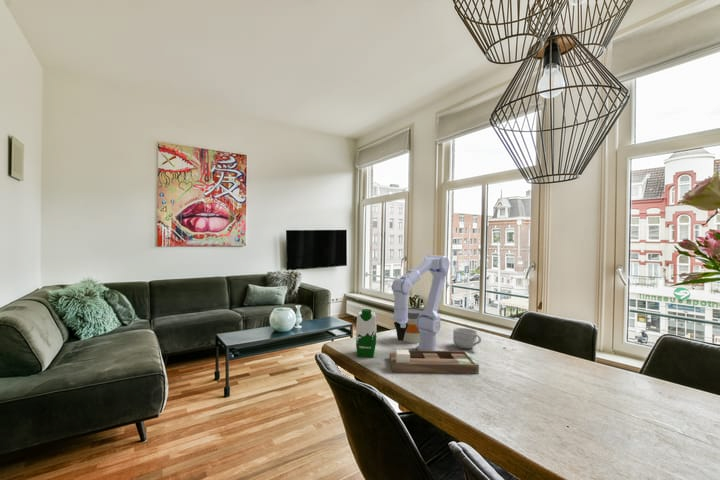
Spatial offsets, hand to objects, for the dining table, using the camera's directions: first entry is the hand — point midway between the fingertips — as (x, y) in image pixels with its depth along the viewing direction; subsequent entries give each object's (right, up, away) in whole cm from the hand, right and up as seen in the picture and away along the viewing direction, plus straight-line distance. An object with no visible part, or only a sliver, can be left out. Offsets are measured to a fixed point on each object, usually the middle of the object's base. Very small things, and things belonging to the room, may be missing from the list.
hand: (400, 340), depth 138 cm
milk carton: (-14, -9, +8) cm, 18 cm away
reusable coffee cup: (+10, -9, +28) cm, 31 cm away
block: (0, -7, -7) cm, 10 cm away
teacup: (+34, -9, +18) cm, 39 cm away
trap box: (+12, -9, -3) cm, 15 cm away
